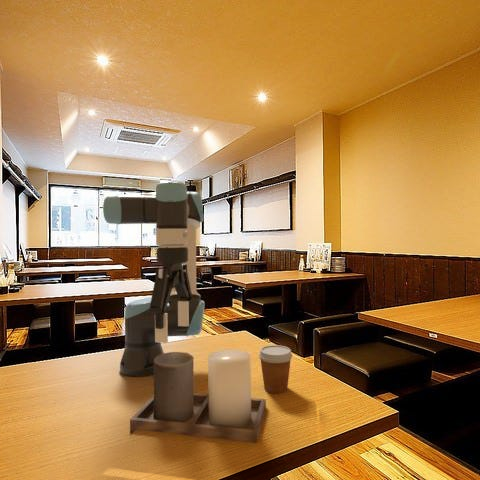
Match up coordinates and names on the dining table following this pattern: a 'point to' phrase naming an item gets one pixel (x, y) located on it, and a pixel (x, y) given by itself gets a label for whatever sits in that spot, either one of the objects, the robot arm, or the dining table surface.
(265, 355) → the disposable coffee cup
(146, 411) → the candle tray
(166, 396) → the pillar candle
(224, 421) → the ivory candle
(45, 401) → the dining table surface
